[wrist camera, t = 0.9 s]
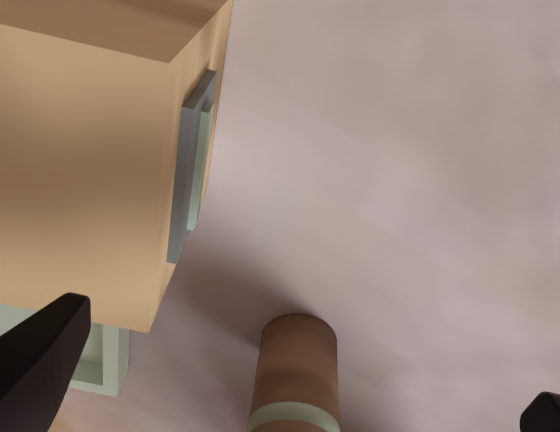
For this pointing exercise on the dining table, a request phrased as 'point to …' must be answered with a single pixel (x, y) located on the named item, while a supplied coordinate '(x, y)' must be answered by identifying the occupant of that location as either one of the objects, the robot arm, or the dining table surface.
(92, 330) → the green tray
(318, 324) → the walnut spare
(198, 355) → the dining table surface
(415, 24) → the dining table surface
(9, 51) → the pine unit
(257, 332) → the dining table surface
